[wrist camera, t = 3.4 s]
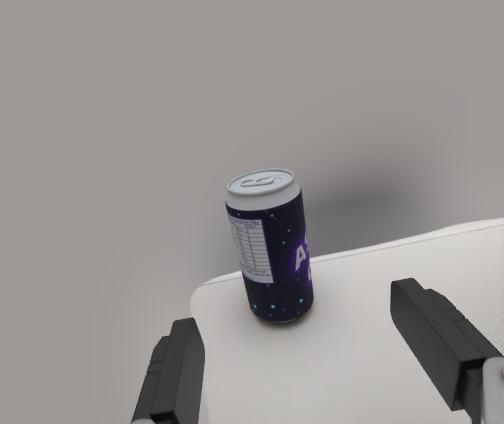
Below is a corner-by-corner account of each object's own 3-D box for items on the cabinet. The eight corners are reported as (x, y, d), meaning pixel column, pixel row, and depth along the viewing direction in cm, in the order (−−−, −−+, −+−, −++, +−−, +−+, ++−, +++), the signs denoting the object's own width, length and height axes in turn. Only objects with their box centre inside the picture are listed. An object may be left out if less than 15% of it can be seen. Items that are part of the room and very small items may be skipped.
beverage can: (314, 331, 22) (297, 190, 17) (245, 329, 24) (211, 198, 19) (314, 283, 27) (301, 162, 22) (257, 284, 29) (232, 171, 24)
